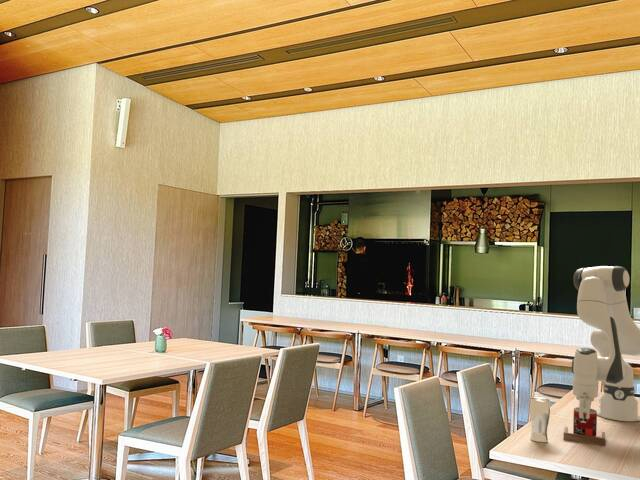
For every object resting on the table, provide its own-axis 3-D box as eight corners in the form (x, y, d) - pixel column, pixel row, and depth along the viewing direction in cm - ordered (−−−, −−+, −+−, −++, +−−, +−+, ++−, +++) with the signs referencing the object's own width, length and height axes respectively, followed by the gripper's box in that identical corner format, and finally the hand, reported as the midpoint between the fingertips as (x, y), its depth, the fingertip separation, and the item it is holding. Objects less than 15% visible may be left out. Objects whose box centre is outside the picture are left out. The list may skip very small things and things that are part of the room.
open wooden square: (564, 433, 232) (564, 426, 232) (604, 438, 226) (604, 432, 226) (563, 439, 223) (563, 432, 223) (605, 445, 217) (605, 438, 217)
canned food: (569, 436, 228) (569, 407, 228) (588, 436, 229) (589, 407, 229) (580, 442, 220) (581, 412, 221) (600, 442, 221) (601, 412, 222)
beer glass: (550, 443, 216) (551, 401, 217) (530, 441, 217) (531, 400, 218) (547, 438, 223) (548, 398, 224) (527, 436, 224) (528, 396, 225)
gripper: (594, 396, 220) (593, 434, 219) (594, 387, 239) (593, 422, 238) (575, 394, 223) (574, 432, 222) (577, 385, 241) (576, 420, 241)
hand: (584, 427), depth 230 cm, fingers closed
